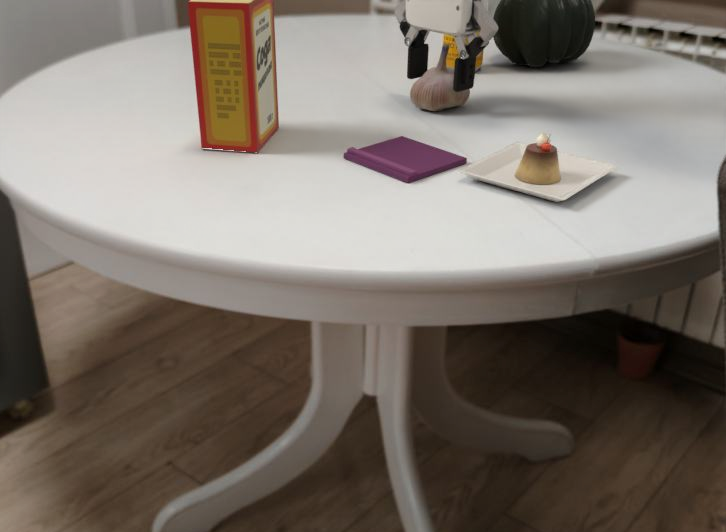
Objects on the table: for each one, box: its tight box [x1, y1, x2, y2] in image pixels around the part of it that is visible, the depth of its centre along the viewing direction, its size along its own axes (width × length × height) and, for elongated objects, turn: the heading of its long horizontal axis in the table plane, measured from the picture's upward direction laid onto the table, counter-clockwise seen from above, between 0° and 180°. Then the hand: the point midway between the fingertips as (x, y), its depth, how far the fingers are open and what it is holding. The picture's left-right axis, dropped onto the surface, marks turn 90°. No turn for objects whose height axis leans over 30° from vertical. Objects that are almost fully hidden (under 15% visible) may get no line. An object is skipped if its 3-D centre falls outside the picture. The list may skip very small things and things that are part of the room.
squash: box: [492, 0, 596, 68], centre depth 122 cm, size 14×15×15 cm
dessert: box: [457, 132, 619, 203], centre depth 82 cm, size 12×12×5 cm
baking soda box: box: [187, 0, 280, 153], centre depth 90 cm, size 10×6×16 cm
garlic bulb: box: [409, 43, 471, 112], centre depth 103 cm, size 8×7×8 cm
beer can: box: [442, 31, 485, 73], centre depth 118 cm, size 6×6×15 cm
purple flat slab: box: [343, 135, 468, 184], centre depth 88 cm, size 10×9×1 cm
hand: (439, 82), depth 103 cm, fingers open, 7 cm apart
